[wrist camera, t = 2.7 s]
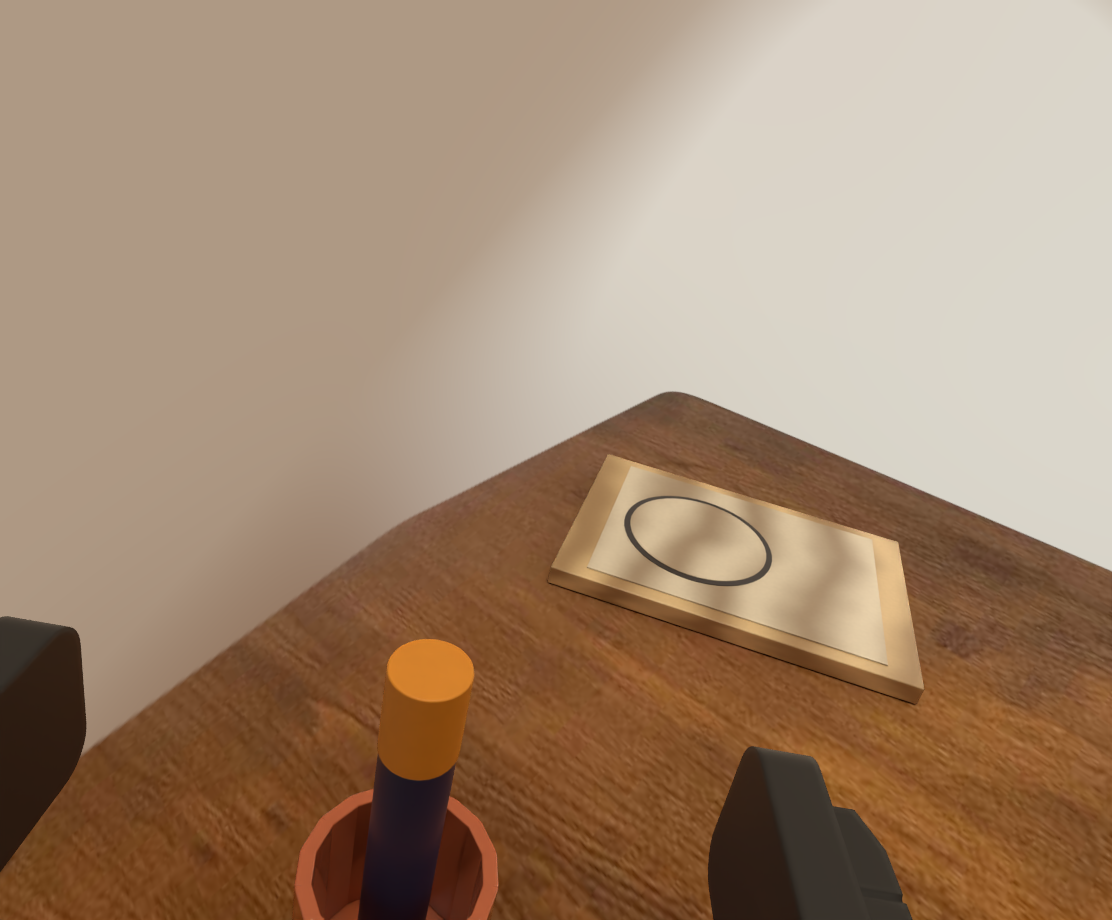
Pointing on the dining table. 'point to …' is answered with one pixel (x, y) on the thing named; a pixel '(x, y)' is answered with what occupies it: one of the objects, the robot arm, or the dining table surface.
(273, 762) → the dining table surface
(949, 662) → the dining table surface
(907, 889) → the dining table surface
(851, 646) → the drawing board
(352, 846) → the pen pot
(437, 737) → the marker
